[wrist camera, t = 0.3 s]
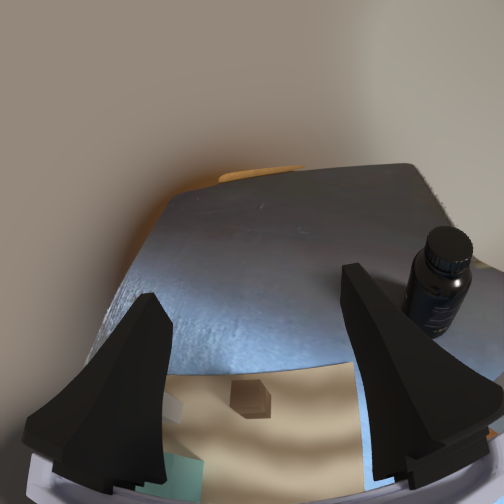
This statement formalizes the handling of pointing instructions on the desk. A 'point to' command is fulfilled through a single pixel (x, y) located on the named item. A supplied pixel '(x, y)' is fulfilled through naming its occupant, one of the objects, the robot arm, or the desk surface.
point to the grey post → (171, 409)
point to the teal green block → (178, 479)
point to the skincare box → (499, 424)
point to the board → (271, 436)
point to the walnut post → (250, 399)
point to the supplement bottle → (439, 280)
